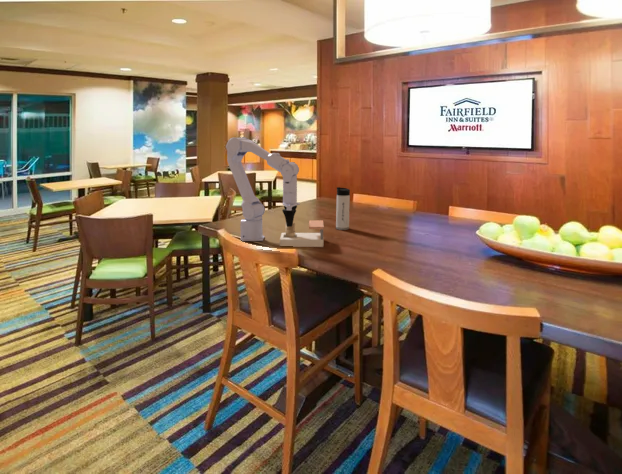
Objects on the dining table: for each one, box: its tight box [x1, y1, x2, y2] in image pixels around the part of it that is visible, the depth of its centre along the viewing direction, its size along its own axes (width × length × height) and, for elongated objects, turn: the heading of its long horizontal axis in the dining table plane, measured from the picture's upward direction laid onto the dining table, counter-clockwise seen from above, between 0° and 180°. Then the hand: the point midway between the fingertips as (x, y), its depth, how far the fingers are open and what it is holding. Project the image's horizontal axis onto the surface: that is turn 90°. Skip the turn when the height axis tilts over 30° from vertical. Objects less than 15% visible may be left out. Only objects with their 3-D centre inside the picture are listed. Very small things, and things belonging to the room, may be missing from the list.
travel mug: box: [335, 186, 351, 231], centre depth 207 cm, size 6×7×20 cm
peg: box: [285, 222, 296, 238], centre depth 181 cm, size 4×4×8 cm
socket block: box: [279, 219, 325, 248], centre depth 181 cm, size 18×13×8 cm
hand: (289, 224), depth 180 cm, fingers open, 7 cm apart
